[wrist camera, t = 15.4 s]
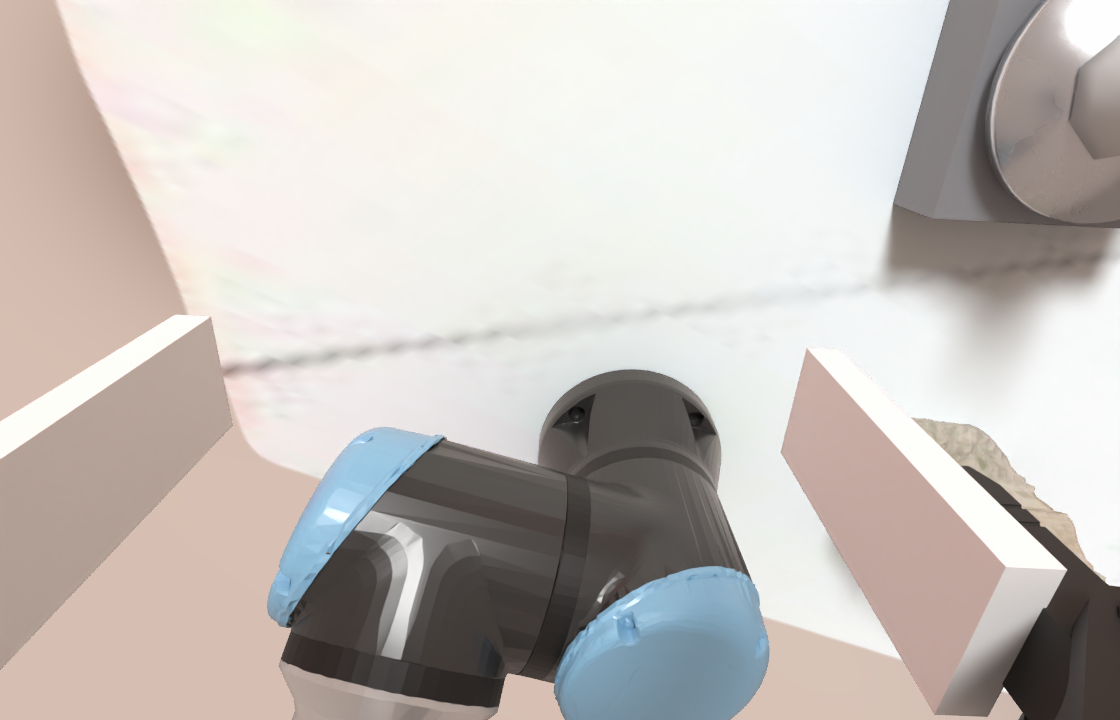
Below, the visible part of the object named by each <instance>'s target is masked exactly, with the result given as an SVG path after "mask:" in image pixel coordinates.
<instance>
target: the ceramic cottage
mask: <svg viewBox="0 0 1120 720" xmlns="http://www.w3.org/2000/svg"><path fill="white" fill-rule="evenodd" d="M912 419H913V420H914V421H915V422H916V423H917V424H918V425H919V426H920V427H921V428H922V429H923V430H924V431H925V432H926V433H927V434H928V435H929V436H930V437H931V438H932V439H933V440H934V441H935V442H936V443H937V444H938V445H939V446H940V447H941V448H942V449H943V450H944V451H945V452H947V453H948V454H949V455H950V456H951V457H952V458H953V459H954V460H955V461H956V462H957V463H958V464H959V465H960V466H970V467H971V468H973V469H975V470H976V471H978V472H980V473H981V474H983V475H985V476H986V477H988V478H990V479H991V480H993V481H995V482H996V483H998V484H1000V485H1001V486H1002V487H1003V488H1004V489H1005V490H1006V491H1007V492H1008V493H1009V494H1010V495H1011V496H1013V497H1014V498H1015V499H1016V500H1017V501H1018V502H1019V503H1020V504H1021V505H1022V506H1021V507H1022V509H1027V510H1028V511H1029V512H1030V513H1031V514H1032V515H1033V516H1034V517H1035V518H1036V519H1037V520H1038V521H1040V526H1041V527H1046V528H1047V529H1048V530H1049V531H1050V532H1051V533H1052V534H1054V535H1055V536H1056V537H1057V538H1058V539H1059V540H1060V541H1061V542H1062V543H1063V544H1064V545H1065V546H1066V547H1068V548H1069V549H1070V550H1071V551H1072V552H1073V553H1074V554H1075V555H1076V556H1077V557H1078V558H1079V559H1081V560H1082V561H1083V562H1084V563H1085V564H1086V565H1087V566H1088V567H1089V568H1090V569H1091V570H1092V571H1093V572H1095V573H1096V574H1097V575H1098V576H1099V577H1100V578H1101V579H1102V580H1103V581H1104V582H1105V577H1104V576H1102V575H1101V574H1099V573H1097V572H1096V571H1094V569H1093V566H1092V565H1091V564H1090V563H1089V562H1088V561H1087V560H1086V558H1085V556H1084V554H1083V552H1082V550H1081V547H1080V545H1079V543H1078V540H1077V536H1076V531H1075V527H1074V524H1073V522H1072V521H1071V519H1070V518H1069V517H1068V515H1067V514H1065V513H1061V512H1056V511H1054V510H1053V509H1052V508H1051V507H1050V506H1048V505H1047V504H1046V503H1044V502H1043V501H1041V500H1040V499H1039V498H1037V497H1036V495H1035V493H1034V489H1035V488H1034V486H1031V485H1029V484H1027V483H1026V481H1025V478H1024V477H1022V476H1020V475H1018V474H1017V473H1016V472H1015V471H1014V469H1013V468H1012V467H1011V465H1010V463H1009V461H1008V458H1007V457H1006V456H1005V455H1004V453H1003V452H1002V451H1001V450H1000V448H999V447H998V446H997V445H996V443H995V442H994V441H993V440H992V439H991V438H990V436H988V435H987V434H986V433H985V432H984V431H982V430H980V429H978V428H977V427H974V426H971V425H968V424H957V423H945V422H938V421H933V420H929V419H917V418H912Z"/></svg>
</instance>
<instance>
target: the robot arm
mask: <svg viewBox="0 0 1120 720" xmlns="http://www.w3.org/2000/svg"><path fill="white" fill-rule="evenodd" d="M232 426H233V425H232V419H231V414H230V409H229V404H228V399H227V394H226V389H225V384H224V380H223V375H222V370H221V365H220V360H219V355H218V350H217V345H216V340H215V335H214V330H213V325H212V320H211V317H207V316H188V315H174V316H173V317H171V318H169V319H168V320H166V321H164V322H163V323H161V324H159V325H158V326H156V327H155V328H153V329H151V330H150V331H148V332H146V333H145V334H143V335H141V336H140V337H138V338H136V339H135V340H133V341H132V342H130V343H128V344H127V345H125V346H123V347H122V348H120V349H118V350H117V351H115V352H113V353H112V354H110V355H109V356H107V357H105V358H104V359H102V360H100V361H99V362H97V363H96V364H94V365H92V366H91V367H89V368H87V369H86V370H84V371H82V372H81V373H79V374H77V375H76V376H74V377H73V378H71V379H69V380H68V381H66V382H64V383H63V384H61V385H59V386H58V387H56V388H55V389H53V390H51V391H50V392H48V393H46V394H45V395H43V396H41V397H40V398H38V399H37V400H35V401H33V402H32V403H30V404H28V405H27V406H25V407H23V408H22V409H20V410H19V411H17V412H15V413H13V414H12V415H10V416H9V417H7V418H5V419H4V420H2V421H1V422H0V670H1V668H3V666H4V665H5V664H6V663H7V662H8V661H9V660H10V659H11V658H12V657H13V656H14V655H15V654H16V653H17V652H18V651H19V650H20V649H21V648H22V647H23V645H24V644H25V643H26V642H27V641H28V640H29V639H30V638H31V637H32V636H33V635H34V634H35V633H36V632H37V631H38V630H39V629H40V628H41V627H42V625H43V624H44V623H45V622H46V621H47V620H48V619H49V618H50V617H51V616H52V615H53V614H54V613H55V611H57V610H58V609H59V608H60V606H62V604H63V603H64V602H65V601H66V600H67V599H68V598H69V597H70V596H71V595H72V594H73V593H74V592H75V591H76V590H77V588H79V586H81V584H82V583H83V582H84V581H85V580H86V579H87V578H88V577H89V576H90V575H91V574H92V573H93V572H94V571H95V570H96V568H98V566H100V564H101V563H102V562H103V561H104V560H105V559H106V558H107V557H108V556H109V555H110V554H111V553H112V552H113V551H114V550H115V549H116V547H118V545H119V544H120V543H121V542H122V541H123V540H124V539H125V538H126V537H127V536H128V535H129V534H130V533H131V532H132V531H133V530H134V529H135V528H136V527H137V526H138V525H139V523H140V522H141V521H142V520H143V519H144V518H145V517H146V516H147V515H148V514H149V513H150V512H151V511H152V510H153V509H154V508H155V507H156V506H157V505H158V503H159V502H160V501H161V500H162V499H163V498H164V497H165V496H166V495H167V494H168V493H169V492H170V491H171V490H172V489H173V487H175V485H176V484H177V483H178V482H179V481H180V480H181V479H182V478H183V477H184V476H185V475H186V474H187V473H188V472H189V471H190V470H191V469H192V468H193V467H194V465H196V463H197V462H198V461H199V460H200V459H201V458H202V457H203V456H204V455H205V454H206V453H207V452H208V451H209V450H210V449H211V448H212V447H213V445H215V443H216V442H217V441H218V440H219V439H220V438H221V437H222V436H223V435H224V434H225V433H226V432H227V431H228V430H229V429H230V428H231V427H232ZM781 453H782V455H783V457H784V458H785V460H786V462H787V464H788V465H789V467H790V469H791V470H792V472H793V474H794V476H795V477H796V479H797V481H798V482H799V484H800V486H801V488H802V489H803V491H804V493H805V494H806V496H807V498H808V499H809V501H810V503H811V505H812V506H813V508H814V510H815V511H816V513H817V515H818V517H819V518H820V520H821V522H822V523H823V525H824V527H825V528H826V530H827V532H828V534H829V535H830V537H831V539H832V540H833V542H834V544H835V546H836V547H837V549H838V551H839V552H840V554H841V556H842V557H843V559H844V561H845V563H846V564H847V566H848V568H849V569H850V571H851V573H852V575H853V576H854V578H855V580H856V581H857V583H858V585H859V587H860V588H861V590H862V592H863V593H864V595H865V597H866V598H867V600H868V602H869V604H870V605H871V607H872V609H873V610H874V612H875V614H876V616H877V617H878V619H879V621H880V622H881V624H882V626H883V627H884V629H885V631H886V633H887V634H888V636H889V638H890V639H891V641H892V643H893V645H894V646H895V648H896V650H897V651H898V653H899V655H900V656H901V658H902V660H903V662H904V663H905V665H906V667H907V668H908V670H909V672H910V673H911V675H912V677H913V679H914V680H915V682H916V684H917V686H918V687H919V689H920V691H921V692H922V694H923V696H924V697H925V699H926V701H927V703H928V704H929V706H930V708H931V709H932V711H933V713H934V714H935V715H959V716H984V717H987V716H988V715H989V713H990V711H991V709H992V708H993V706H994V704H995V702H996V700H997V698H998V697H999V695H1000V693H1001V691H1002V689H1003V687H1005V689H1006V690H1007V691H1008V693H1009V694H1010V695H1011V697H1012V698H1013V700H1014V701H1015V702H1016V704H1017V705H1018V706H1019V708H1020V709H1021V710H1022V712H1023V713H1022V715H1021V716H1020V718H1019V720H1120V587H1117V586H1109V585H1107V584H1106V583H1105V582H1104V581H1103V580H1102V579H1101V578H1100V577H1099V576H1098V575H1097V574H1096V573H1095V572H1093V571H1092V570H1091V569H1090V568H1089V567H1088V566H1087V565H1086V564H1085V563H1084V562H1083V561H1082V560H1081V559H1079V558H1078V557H1077V556H1076V555H1075V554H1074V553H1073V552H1072V551H1071V550H1070V549H1069V548H1068V547H1066V546H1065V545H1064V544H1063V543H1062V542H1061V541H1060V540H1059V539H1058V538H1057V537H1056V536H1055V535H1054V534H1052V533H1051V532H1050V531H1049V530H1048V529H1047V528H1046V527H1041V526H1040V521H1038V520H1037V519H1036V518H1035V517H1034V516H1033V515H1032V514H1031V513H1030V512H1029V511H1028V510H1027V509H1022V507H1021V506H1022V505H1021V504H1020V503H1019V502H1018V501H1017V500H1016V499H1015V498H1014V497H1013V496H1011V495H1010V494H1009V493H1008V492H1007V491H1006V490H1005V489H1004V488H1003V487H1002V486H1001V485H1000V484H998V483H996V482H995V481H993V480H991V479H990V478H988V477H986V476H985V475H983V474H981V473H980V472H978V471H976V470H975V469H973V468H971V467H970V466H960V465H959V464H958V463H957V462H956V461H955V460H954V459H953V458H952V457H951V456H950V455H949V454H948V453H947V452H945V451H944V450H943V449H942V448H941V447H940V446H939V445H938V444H937V443H936V442H935V441H934V440H933V439H932V438H931V437H930V436H929V435H928V434H927V433H926V432H925V431H924V430H923V429H922V428H921V427H920V426H919V425H918V424H917V423H916V422H915V421H914V420H913V419H912V418H911V417H909V416H908V415H907V414H906V413H905V412H904V411H903V410H902V409H901V408H900V407H899V406H898V405H897V404H896V403H895V402H894V401H893V400H892V399H891V398H890V397H889V396H888V395H887V394H886V393H885V392H884V391H883V390H882V389H881V388H880V387H879V386H878V385H877V384H876V383H874V382H873V381H872V380H871V379H870V378H869V377H868V376H867V375H866V374H865V373H864V372H863V371H862V370H861V369H860V368H859V367H858V366H857V365H856V364H855V363H854V362H853V361H852V360H851V359H850V358H849V357H848V356H847V355H846V354H845V353H844V352H843V351H842V350H835V349H816V348H807V349H806V353H805V357H804V361H803V365H802V369H801V373H800V377H799V381H798V385H797V389H796V393H795V397H794V401H793V405H792V409H791V413H790V417H789V421H788V425H787V429H786V433H785V437H784V441H783V445H782V449H781ZM538 464H539V465H536V464H532V463H528V462H525V461H521V460H517V459H514V458H510V457H506V456H502V455H499V454H495V453H491V452H488V451H484V450H480V449H477V448H473V447H469V446H466V445H462V444H458V443H455V442H451V441H447V437H445V436H442V435H435V436H433V437H432V436H427V435H423V434H418V433H414V432H409V431H404V430H400V429H395V428H390V427H379V428H374V429H371V430H368V431H366V432H364V433H362V434H361V435H359V436H358V437H356V438H355V439H354V440H353V441H352V442H351V443H350V444H349V445H348V446H347V447H346V448H345V449H344V450H343V451H342V452H341V454H340V455H339V456H338V457H337V459H336V460H335V461H334V463H333V464H332V465H331V467H330V468H329V470H328V471H327V473H326V474H325V476H324V477H323V479H322V480H321V482H320V484H319V485H318V487H317V489H316V490H315V492H314V494H313V495H312V497H311V499H310V501H309V502H308V504H307V506H306V508H305V510H304V512H303V513H302V515H301V517H300V519H299V521H298V523H297V525H296V527H295V529H294V531H293V533H292V535H291V537H290V539H289V542H288V544H287V546H286V548H285V551H284V553H283V555H282V558H281V561H280V564H279V571H278V573H277V576H276V578H275V580H274V582H273V584H272V586H271V589H270V593H269V596H268V603H267V608H268V614H269V616H270V617H271V618H272V619H273V620H275V621H276V622H277V623H278V625H279V626H281V627H286V628H290V627H291V633H290V635H289V638H288V641H287V643H286V646H285V649H284V652H283V654H282V657H281V660H280V663H279V667H280V670H281V672H282V674H283V676H284V679H285V681H286V683H287V685H288V687H289V689H290V691H291V694H292V696H293V698H294V705H295V712H294V715H293V718H292V720H488V719H489V718H491V717H492V716H494V715H495V714H496V713H497V711H498V707H499V703H500V698H501V694H502V689H503V685H504V680H505V677H506V675H507V674H508V673H511V674H515V675H521V676H525V677H530V678H534V679H538V680H542V681H546V682H551V683H555V686H554V694H555V695H556V700H557V701H558V705H559V706H560V710H561V713H562V715H563V717H564V719H565V720H730V719H732V718H733V717H734V716H735V715H736V714H738V713H739V712H740V711H741V710H742V709H743V708H744V707H745V706H746V705H747V704H748V703H749V701H750V700H751V699H752V697H753V696H754V695H755V693H756V692H757V690H758V689H759V687H760V685H761V683H762V681H763V679H764V676H765V674H766V670H767V667H768V661H769V641H768V636H767V633H766V629H765V625H764V622H763V618H762V615H761V611H760V608H759V606H760V602H759V595H758V591H757V590H756V588H755V584H753V582H752V580H751V577H750V575H749V572H748V570H747V567H746V565H745V562H744V560H743V557H742V555H741V552H740V550H739V547H738V545H737V542H736V540H735V537H734V535H733V532H732V530H731V527H730V525H729V522H728V520H727V517H726V515H725V512H724V510H723V507H722V505H721V502H720V500H719V498H718V495H717V487H718V480H719V473H720V465H721V446H720V440H719V435H718V432H717V429H716V427H715V425H714V422H713V420H712V418H711V416H710V413H709V411H708V410H707V408H706V406H705V405H704V403H703V402H702V401H701V399H700V398H699V397H698V396H697V395H696V394H695V393H694V392H693V391H692V390H690V389H689V388H688V387H686V386H685V385H683V384H682V383H680V382H679V381H677V380H675V379H673V378H670V377H668V376H665V375H663V374H659V373H655V372H651V371H645V370H618V371H612V372H607V373H603V374H600V375H597V376H594V377H592V378H589V379H587V380H585V381H583V382H581V383H579V384H578V385H576V386H575V387H573V388H572V389H570V390H569V391H568V392H567V393H565V394H564V395H563V396H562V397H561V398H560V399H559V400H558V401H557V402H556V404H555V405H554V406H553V408H552V409H551V411H550V412H549V414H548V416H547V417H546V420H545V422H544V424H543V427H542V430H541V434H540V440H539V455H538Z"/></svg>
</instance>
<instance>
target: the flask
mask: <svg viewBox="0 0 1120 720" xmlns="http://www.w3.org/2000/svg"><path fill="white" fill-rule="evenodd" d="M1070 124H1071V125H1072V127H1073V128H1074V130H1075V132H1076V133H1077V135H1078V136H1079V138H1080V139H1081V141H1082V142H1083V144H1084V146H1085V147H1086V149H1087V150H1088V152H1089V153H1090V155H1091V156H1092V158H1093V160H1095V159H1102V158H1108V157H1114V156H1120V35H1119V36H1117V37H1116V38H1115V39H1114V40H1113V41H1111V42H1110V43H1109V44H1108V45H1107V46H1105V47H1104V48H1103V49H1102V50H1101V51H1099V52H1098V53H1097V54H1096V55H1095V56H1093V57H1092V58H1091V59H1090V60H1089V61H1088V62H1086V63H1085V64H1084V65H1083V66H1082V67H1080V71H1079V77H1078V82H1077V88H1076V93H1075V99H1074V104H1073V110H1072V116H1071V121H1070Z"/></svg>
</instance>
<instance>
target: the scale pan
mask: <svg viewBox="0 0 1120 720" xmlns="http://www.w3.org/2000/svg"><path fill="white" fill-rule="evenodd" d="M1119 35H1120V0H1041V1H1040V2H1039V3H1038V4H1037V5H1036V6H1035V8H1034V9H1033V10H1032V11H1031V13H1030V14H1029V15H1028V17H1027V18H1026V19H1025V20H1024V22H1023V23H1022V24H1021V26H1020V27H1019V29H1018V31H1017V32H1016V34H1015V35H1014V37H1013V39H1012V40H1011V42H1010V43H1009V45H1008V47H1007V49H1006V51H1005V53H1004V55H1003V57H1002V59H1001V61H1000V64H999V66H998V69H997V71H996V74H995V77H994V79H993V82H992V86H991V90H990V94H989V98H988V103H987V110H986V117H985V138H986V146H987V153H988V156H989V160H990V163H991V166H992V168H993V171H994V173H995V175H996V177H997V179H998V181H999V182H1000V183H1001V185H1002V186H1003V188H1004V189H1005V191H1006V192H1007V193H1008V194H1009V195H1010V196H1011V197H1012V198H1013V199H1014V200H1016V201H1017V202H1018V203H1020V204H1021V205H1023V206H1024V207H1026V208H1027V209H1029V210H1032V211H1034V212H1036V213H1038V214H1041V215H1044V216H1048V217H1051V218H1055V219H1058V220H1062V221H1066V222H1074V223H1102V222H1109V221H1116V220H1119V219H1120V156H1114V157H1108V158H1102V159H1095V160H1093V158H1092V156H1091V155H1090V153H1089V152H1088V150H1087V149H1086V147H1085V146H1084V144H1083V142H1082V141H1081V139H1080V138H1079V136H1078V135H1077V133H1076V132H1075V130H1074V128H1073V127H1072V125H1071V124H1070V121H1071V116H1072V110H1073V104H1074V99H1075V93H1076V88H1077V82H1078V77H1079V71H1080V67H1082V66H1083V65H1084V64H1085V63H1086V62H1088V61H1089V60H1090V59H1091V58H1092V57H1093V56H1095V55H1096V54H1097V53H1098V52H1099V51H1101V50H1102V49H1103V48H1104V47H1105V46H1107V45H1108V44H1109V43H1110V42H1111V41H1113V40H1114V39H1115V38H1116V37H1117V36H1119Z"/></svg>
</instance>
